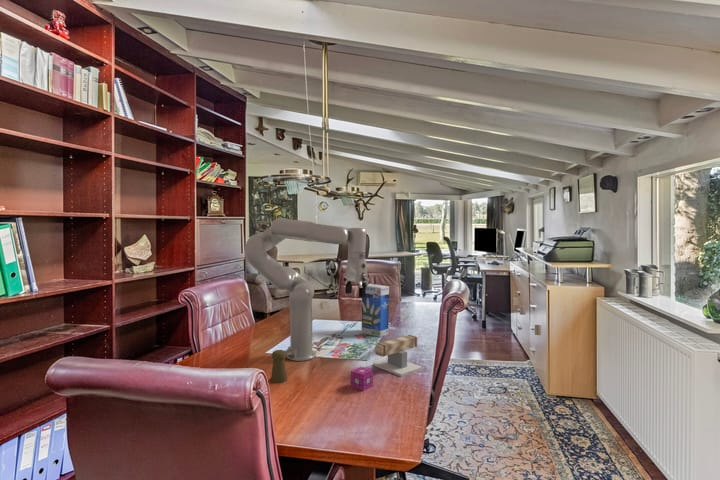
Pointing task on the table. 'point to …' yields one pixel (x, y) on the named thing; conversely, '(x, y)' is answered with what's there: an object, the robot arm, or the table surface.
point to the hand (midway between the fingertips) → (355, 295)
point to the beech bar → (395, 345)
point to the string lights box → (375, 310)
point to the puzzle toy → (362, 378)
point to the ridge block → (398, 364)
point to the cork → (279, 367)
